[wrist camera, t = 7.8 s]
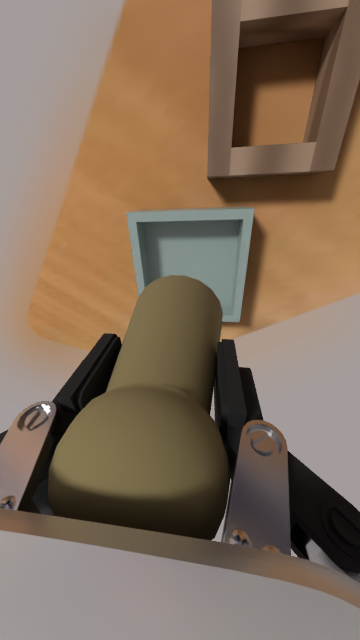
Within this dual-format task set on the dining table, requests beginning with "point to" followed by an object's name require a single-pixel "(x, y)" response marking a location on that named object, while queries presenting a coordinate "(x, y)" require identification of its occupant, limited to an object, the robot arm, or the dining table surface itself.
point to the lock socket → (329, 93)
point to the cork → (152, 424)
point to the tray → (194, 249)
